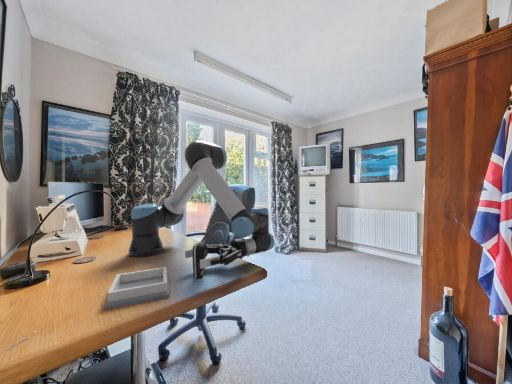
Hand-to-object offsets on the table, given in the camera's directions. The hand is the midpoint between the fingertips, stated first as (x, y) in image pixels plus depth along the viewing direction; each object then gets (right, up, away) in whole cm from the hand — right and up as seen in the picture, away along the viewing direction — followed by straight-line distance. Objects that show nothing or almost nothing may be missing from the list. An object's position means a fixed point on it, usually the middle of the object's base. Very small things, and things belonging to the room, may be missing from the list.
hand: (192, 259), depth 77 cm
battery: (+3, -7, +2) cm, 7 cm away
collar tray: (-14, -7, -8) cm, 17 cm away
